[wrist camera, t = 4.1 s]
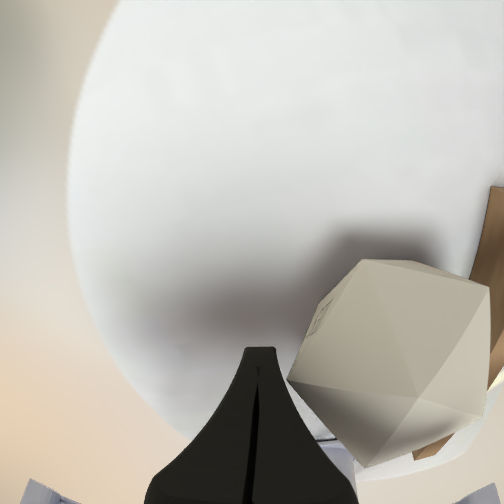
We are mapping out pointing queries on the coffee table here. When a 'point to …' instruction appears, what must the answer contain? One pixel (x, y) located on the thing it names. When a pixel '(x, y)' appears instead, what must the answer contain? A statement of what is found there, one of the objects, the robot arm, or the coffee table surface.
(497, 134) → the coffee table surface
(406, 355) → the die
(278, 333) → the coffee table surface
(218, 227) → the coffee table surface
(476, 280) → the walnut board
